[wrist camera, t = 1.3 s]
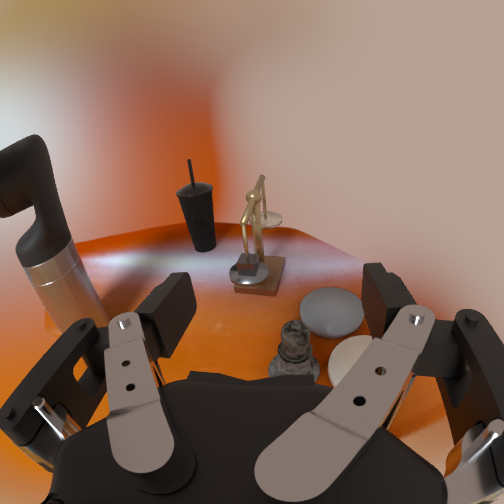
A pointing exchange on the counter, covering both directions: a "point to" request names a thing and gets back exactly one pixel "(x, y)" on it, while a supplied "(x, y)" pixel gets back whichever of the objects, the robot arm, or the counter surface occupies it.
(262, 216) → the brass balance
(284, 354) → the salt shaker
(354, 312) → the slate-grey dish
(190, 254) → the counter surface
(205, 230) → the drinking cup
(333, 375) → the cream dish
